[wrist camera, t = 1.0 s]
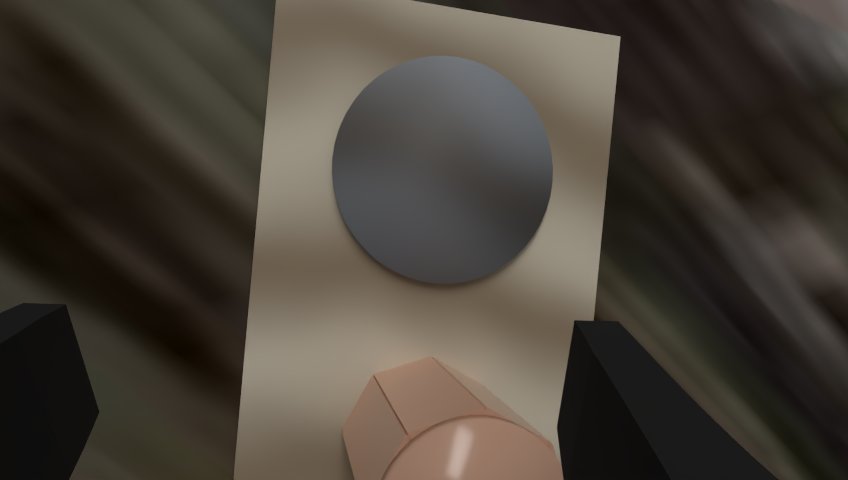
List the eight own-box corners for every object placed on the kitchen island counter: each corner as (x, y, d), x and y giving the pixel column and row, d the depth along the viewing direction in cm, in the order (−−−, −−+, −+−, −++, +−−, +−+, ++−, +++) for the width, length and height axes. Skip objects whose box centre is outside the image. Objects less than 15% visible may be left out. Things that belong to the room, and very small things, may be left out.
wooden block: (505, 478, 22) (593, 582, 16) (368, 528, 21) (403, 660, 15) (471, 343, 22) (547, 393, 15) (329, 387, 21) (349, 461, 14)
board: (556, 573, 24) (571, 593, 22) (225, 583, 21) (221, 606, 20) (606, 44, 24) (624, 34, 22) (278, -11, 21) (278, -27, 20)
